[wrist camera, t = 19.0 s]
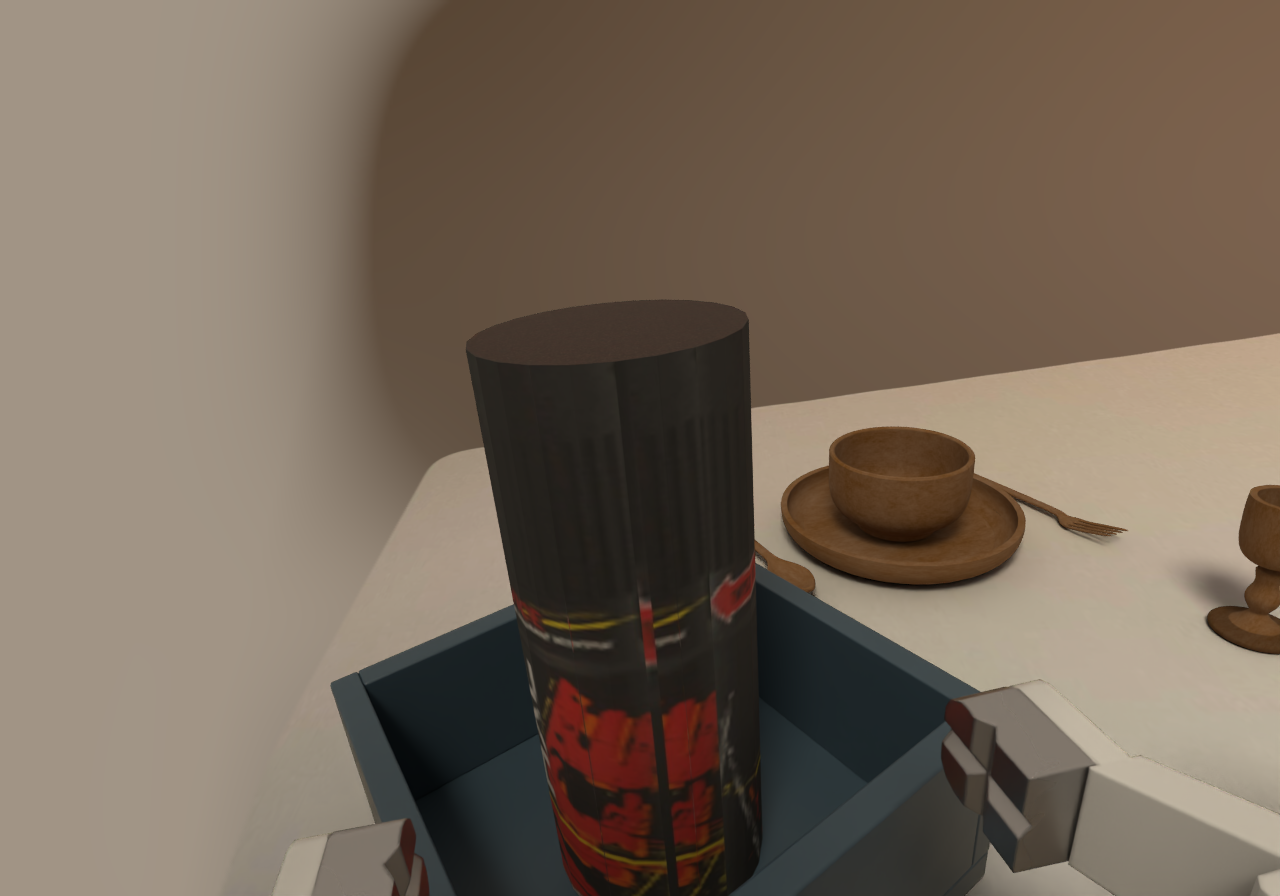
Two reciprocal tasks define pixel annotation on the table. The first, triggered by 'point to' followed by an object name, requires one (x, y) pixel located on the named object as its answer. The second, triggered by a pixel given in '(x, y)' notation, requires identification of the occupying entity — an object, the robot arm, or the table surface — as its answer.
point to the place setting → (968, 523)
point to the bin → (789, 754)
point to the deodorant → (633, 582)
